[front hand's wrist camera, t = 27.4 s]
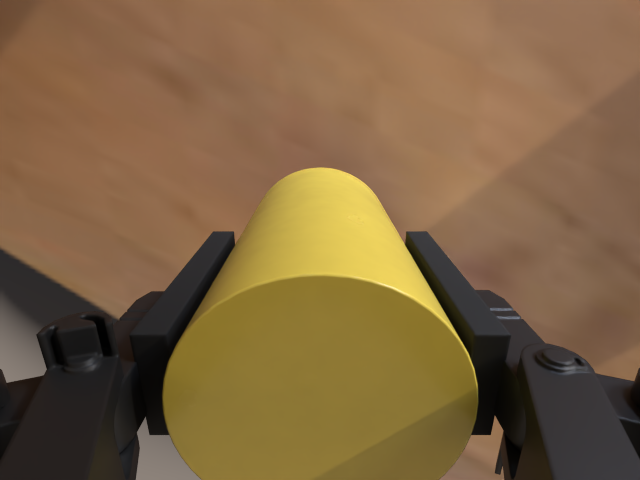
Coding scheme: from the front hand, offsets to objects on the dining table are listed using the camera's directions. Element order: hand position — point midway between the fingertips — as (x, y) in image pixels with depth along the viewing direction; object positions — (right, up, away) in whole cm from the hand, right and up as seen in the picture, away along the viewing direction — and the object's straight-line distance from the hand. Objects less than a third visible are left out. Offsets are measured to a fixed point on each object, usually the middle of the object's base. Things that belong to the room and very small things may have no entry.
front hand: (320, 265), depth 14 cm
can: (0, +1, +4) cm, 4 cm away
